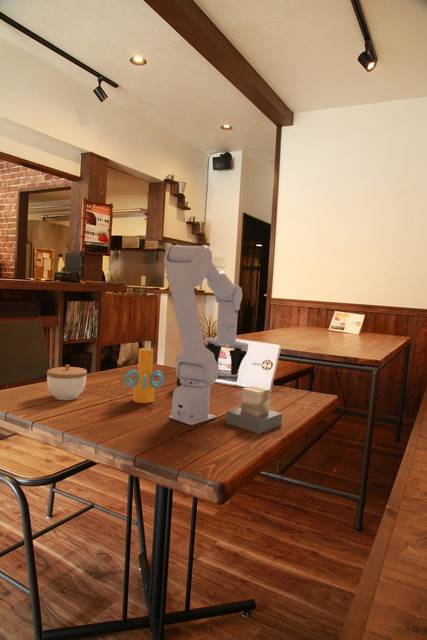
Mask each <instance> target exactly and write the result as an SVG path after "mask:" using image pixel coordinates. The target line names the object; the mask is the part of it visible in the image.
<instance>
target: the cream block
mask: <svg viewBox="0 0 427 640" xmlns="http://www.w3.org/2000/svg"><path fill="white" fill-rule="evenodd" d="M241 392H242V393H241V412H243V413H246V414H250V415H253V416H257V417H258V416H261V415H264V414H267V413H269V410H270V400H271V399H270V397H271V389H269V388H265V387H261V386H256V385H251V386H247V387H243V388H242V391H241Z"/></svg>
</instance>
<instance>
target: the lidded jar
mask: <svg viewBox="0 0 427 640" xmlns="http://www.w3.org/2000/svg"><path fill="white" fill-rule="evenodd" d="M87 374H88V371H87V369H86V368H84V367H83V368H82V367H76V366H70V364H65V366H61V367H60V366H59V367H53V368H49V369H48V370H47V371H46V376H47V378H46V380H47V388H48V390H49V392H50V394H51V395H52V396H53V397H54V399H56V400H58V401H70V400H75V399H77V398H78V397H79V396H80V395H81V394H82V393H83V392H84V389H85V387H86V383H87Z"/></svg>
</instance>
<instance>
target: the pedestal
mask: <svg viewBox="0 0 427 640" xmlns="http://www.w3.org/2000/svg"><path fill="white" fill-rule="evenodd" d="M225 418H226V419H225V424H227V425H231V426H234V427H237V428H240V429H244V430H246V431H249V432H253V433H256V434H259V435H260V434H262V433H264V432H268V431H269V430H273V429H275V428H277V427H280V426H282V420H283V419H282V418H283V413H282V412H279V411H274V410H271V409H269V413H267V414H264V415H261V416H258V417H257V416H253V415H250V414H246V413H243V412H241V407H237V408H233V409H231V410H227V411H226V417H225Z"/></svg>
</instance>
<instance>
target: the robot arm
mask: <svg viewBox="0 0 427 640" xmlns="http://www.w3.org/2000/svg"><path fill="white" fill-rule="evenodd" d="M163 265H164V269H165V274H166V278H167V282H168V284H169V286H170V292H171V297H172V301H173V307H174V311H175V316H176V321H177V326H178V331H179V335H180V340H181V344H182V350H180V351H179V352H178V354H177V355H176V357H175V361H176V365H175V373H176V378H177V377H178V378H179V379H180V383H182V385H181V386H180V387H178V388H175V389H174V390H173V391H172V400H171V401H172V402H171V414H170V415H169V416H168V418H170V419H172V420H175V421H179V422H181V423H183V424H186V425H189V426H194V425H197V424H199V423H203V422H207V421H210V420H213V419H216V418H217V417H216V415H214V414H210V398H211V397H210V395H211V386H212V385H214V383H216V381H217V379H218V376H219V372H220V367H219V357H220V353H221V350H222V348H227V349H230V350H229V351H228V352H229V355H230V363H231V364H230V374H231V375H232V376H234V375H238V372H239V370H240V366H241V364H242V362H243V360H244V358H245V356H246V355H247V353H248V351H249V343H246V342H241V341H238V340H237V330H238V328H237V326H238V314H239V311H240V309H241V302H242V300H243V290H242V287H241V286H240V285H238V284H236V283H235V284H234V282H233V281H232V280H231V279H230V278H229V277H228V275H227V274H226V272H225V271H224V270H218V269H217V267H216V266H215V263H214V262H213V252H212V251H211V249H210V247H208V246H207V245H206V244H205V245H204V244H202V245H175V244H172V245H170V246H169V247H168V248H167V250H166V252H165V255H164V258H163ZM204 280H206V284H207V286H208V288H209V289H210V290H211V291H212V292H213V295H214V297H215V299H214V300H215V302H216V303H218V306H217V307H218V308H217V320H216V322H217V323H216V337H214V338H213V337H205V338H204V337H203V332H202V331H203V330H202V327H201V320H200V315H199V310H198V309H199V308H198V304H197V299H196V293H195V289H196V288H197V287H199V286H200V285H202V284H203V282H204ZM231 349H232V350H231Z"/></svg>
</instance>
